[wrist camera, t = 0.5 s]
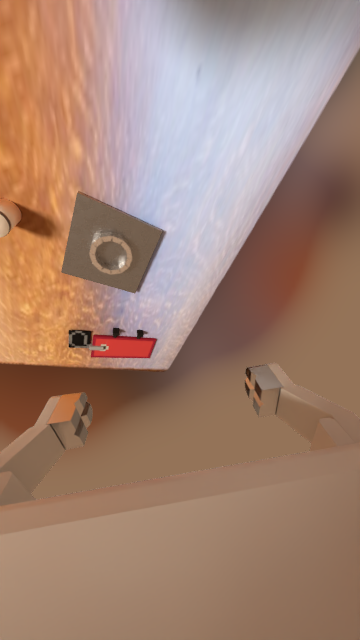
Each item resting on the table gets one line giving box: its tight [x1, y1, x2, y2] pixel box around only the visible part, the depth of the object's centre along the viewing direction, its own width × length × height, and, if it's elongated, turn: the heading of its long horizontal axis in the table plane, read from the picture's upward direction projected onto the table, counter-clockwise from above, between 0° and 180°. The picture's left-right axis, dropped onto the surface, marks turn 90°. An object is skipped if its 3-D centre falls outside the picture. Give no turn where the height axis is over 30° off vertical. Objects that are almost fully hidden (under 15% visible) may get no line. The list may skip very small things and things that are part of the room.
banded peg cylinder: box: [0, 198, 22, 237], centre depth 42 cm, size 5×5×8 cm
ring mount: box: [62, 191, 163, 293], centre depth 54 cm, size 20×20×4 cm
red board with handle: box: [69, 328, 156, 358], centre depth 77 cm, size 30×3×15 cm
